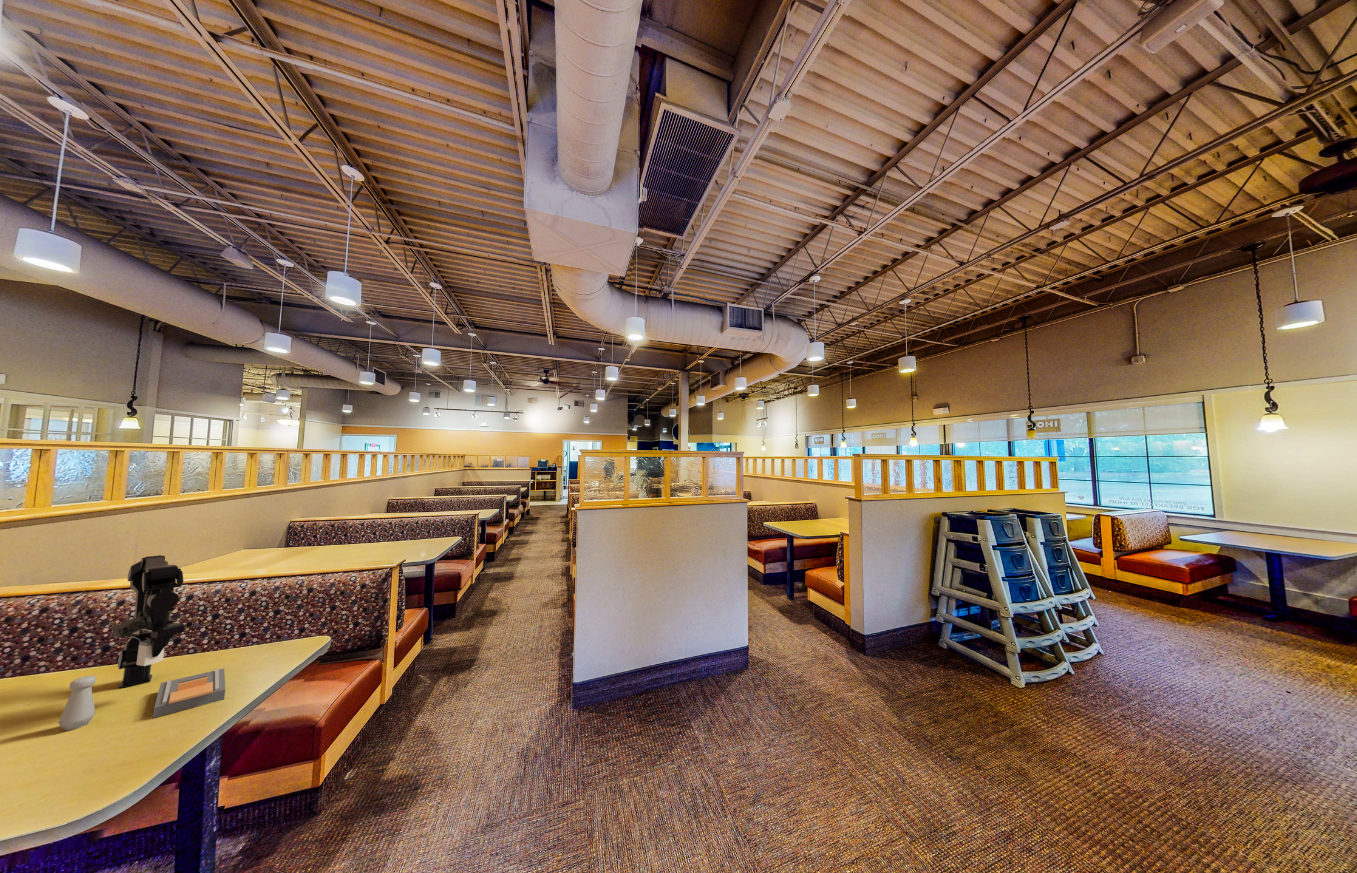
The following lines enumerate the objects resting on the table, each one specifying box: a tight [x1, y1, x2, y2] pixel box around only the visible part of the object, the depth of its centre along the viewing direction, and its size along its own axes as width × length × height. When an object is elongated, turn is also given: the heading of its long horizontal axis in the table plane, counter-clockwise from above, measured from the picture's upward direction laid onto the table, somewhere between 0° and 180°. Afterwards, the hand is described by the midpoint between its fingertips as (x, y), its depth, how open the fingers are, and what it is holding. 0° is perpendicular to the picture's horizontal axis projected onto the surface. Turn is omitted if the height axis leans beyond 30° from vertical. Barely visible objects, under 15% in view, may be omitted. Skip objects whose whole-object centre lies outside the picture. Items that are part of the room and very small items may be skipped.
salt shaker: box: [58, 675, 97, 731], centre depth 116 cm, size 6×6×13 cm
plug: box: [136, 640, 165, 666], centre depth 132 cm, size 4×4×7 cm
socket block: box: [152, 668, 226, 719], centre depth 132 cm, size 22×14×4 cm, turn 49°
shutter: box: [169, 677, 213, 704], centre depth 127 cm, size 9×9×3 cm
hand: (150, 656), depth 132 cm, fingers closed on plug, 4 cm apart
